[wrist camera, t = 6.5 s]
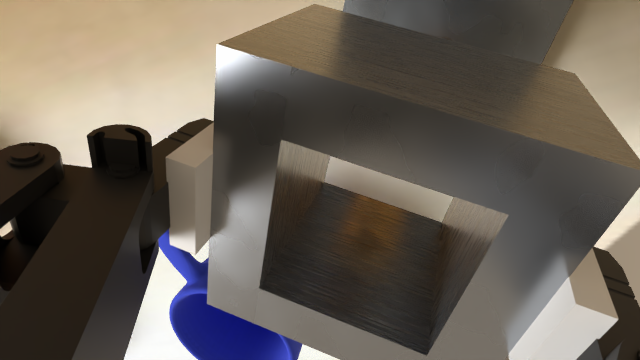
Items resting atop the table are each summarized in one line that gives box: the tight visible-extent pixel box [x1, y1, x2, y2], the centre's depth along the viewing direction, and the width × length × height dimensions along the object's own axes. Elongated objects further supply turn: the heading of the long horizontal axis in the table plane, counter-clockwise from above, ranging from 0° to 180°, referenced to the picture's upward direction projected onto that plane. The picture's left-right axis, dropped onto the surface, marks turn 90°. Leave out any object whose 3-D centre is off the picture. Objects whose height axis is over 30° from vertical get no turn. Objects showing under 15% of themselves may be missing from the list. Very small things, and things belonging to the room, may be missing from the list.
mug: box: [158, 229, 302, 360], centre depth 27 cm, size 8×12×10 cm
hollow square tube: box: [207, 4, 640, 360], centre depth 12 cm, size 8×8×6 cm
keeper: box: [343, 0, 573, 64], centre depth 16 cm, size 16×10×10 cm, turn 169°
